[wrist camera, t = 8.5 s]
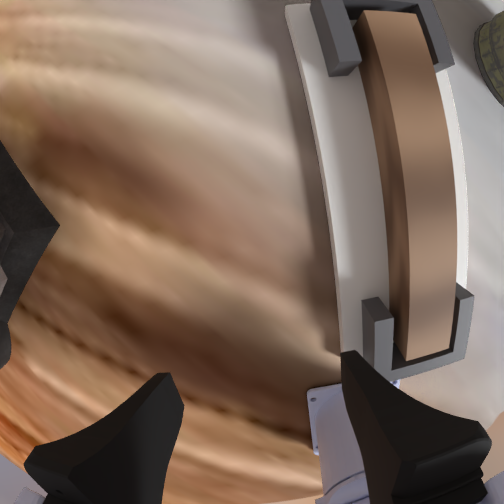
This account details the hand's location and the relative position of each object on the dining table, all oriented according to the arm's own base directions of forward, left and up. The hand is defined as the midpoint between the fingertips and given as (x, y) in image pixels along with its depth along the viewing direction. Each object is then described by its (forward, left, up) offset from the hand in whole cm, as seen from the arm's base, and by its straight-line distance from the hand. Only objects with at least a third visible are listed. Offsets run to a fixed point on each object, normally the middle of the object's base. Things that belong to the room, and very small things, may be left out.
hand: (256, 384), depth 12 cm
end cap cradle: (+6, -10, -9) cm, 15 cm away
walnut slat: (+6, -10, -8) cm, 14 cm away
